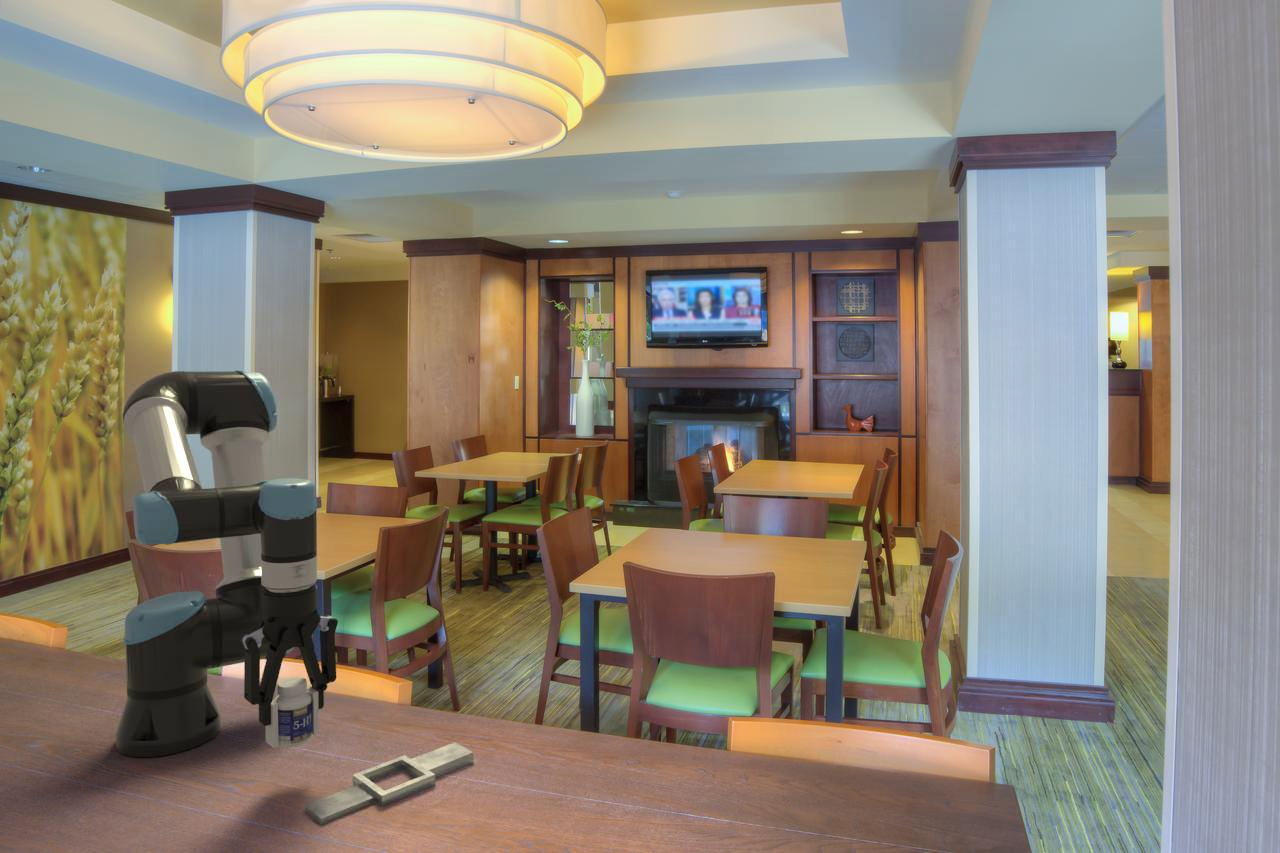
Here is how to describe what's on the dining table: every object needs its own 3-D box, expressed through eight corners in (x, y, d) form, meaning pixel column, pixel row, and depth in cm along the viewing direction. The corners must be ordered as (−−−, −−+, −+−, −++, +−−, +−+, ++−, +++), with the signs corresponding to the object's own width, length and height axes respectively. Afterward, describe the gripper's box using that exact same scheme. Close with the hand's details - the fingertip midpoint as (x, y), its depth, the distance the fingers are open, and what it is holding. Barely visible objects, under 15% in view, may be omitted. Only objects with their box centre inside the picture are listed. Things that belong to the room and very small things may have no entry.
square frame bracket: (327, 829, 110) (326, 818, 110) (299, 805, 116) (298, 794, 116) (480, 766, 128) (479, 756, 127) (449, 748, 133) (448, 738, 133)
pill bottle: (297, 750, 119) (296, 691, 118) (265, 746, 120) (264, 687, 119) (319, 733, 124) (318, 677, 123) (288, 729, 125) (287, 673, 124)
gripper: (233, 604, 111) (238, 768, 113) (361, 578, 124) (362, 726, 126) (213, 592, 116) (218, 749, 118) (337, 568, 129) (339, 710, 131)
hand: (292, 737), depth 122 cm, fingers closed on pill bottle, 5 cm apart
